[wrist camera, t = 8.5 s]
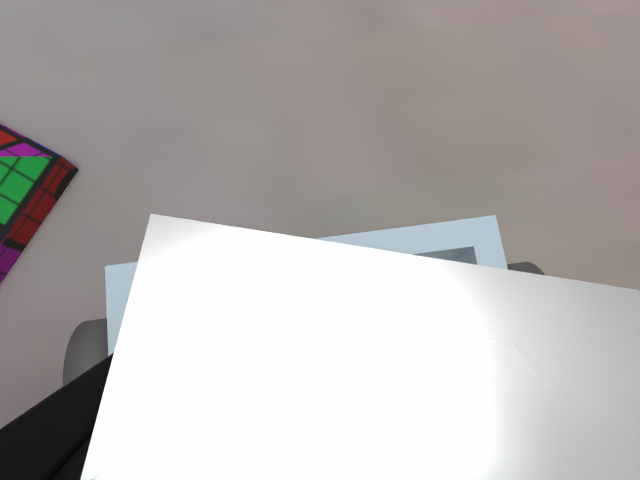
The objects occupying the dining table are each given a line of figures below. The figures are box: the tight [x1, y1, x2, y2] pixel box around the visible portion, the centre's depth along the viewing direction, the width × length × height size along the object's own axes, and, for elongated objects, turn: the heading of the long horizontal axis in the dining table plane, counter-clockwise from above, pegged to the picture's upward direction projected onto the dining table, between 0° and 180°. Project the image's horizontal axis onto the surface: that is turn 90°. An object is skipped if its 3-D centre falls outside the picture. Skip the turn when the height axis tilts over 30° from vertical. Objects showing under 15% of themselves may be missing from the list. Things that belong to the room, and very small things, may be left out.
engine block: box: [80, 214, 640, 480], centre depth 10 cm, size 4×4×12 cm
